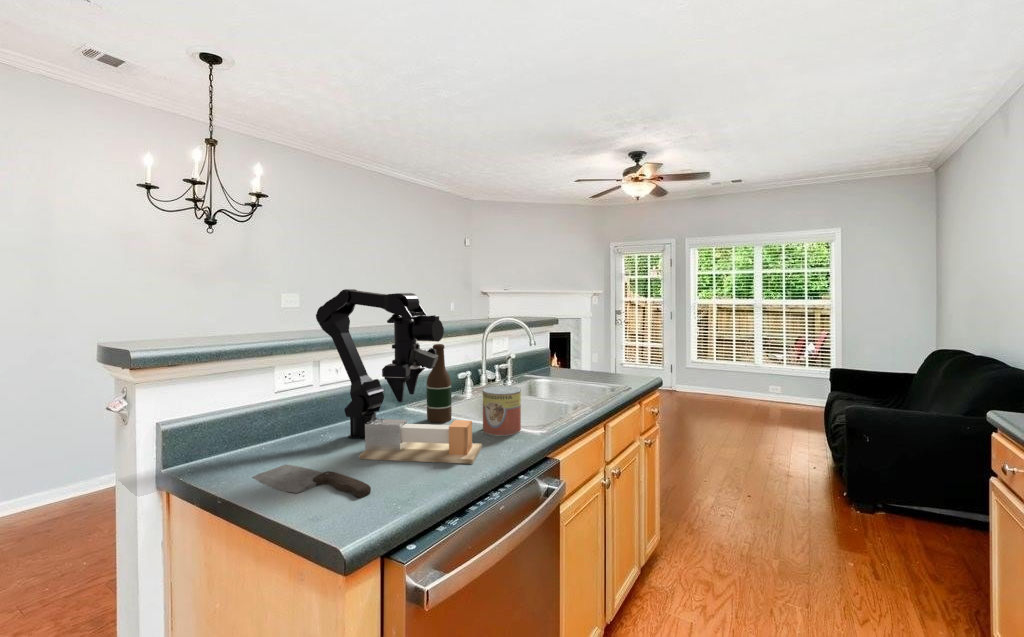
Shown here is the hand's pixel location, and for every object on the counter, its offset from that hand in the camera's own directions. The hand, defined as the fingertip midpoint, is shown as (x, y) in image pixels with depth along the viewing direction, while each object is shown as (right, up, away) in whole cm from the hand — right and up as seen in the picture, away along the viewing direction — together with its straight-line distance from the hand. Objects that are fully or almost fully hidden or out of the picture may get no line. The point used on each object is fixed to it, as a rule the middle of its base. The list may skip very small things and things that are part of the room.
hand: (406, 398), depth 129 cm
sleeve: (-3, -12, -7) cm, 15 cm away
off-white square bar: (+7, -9, -8) cm, 14 cm away
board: (+6, -13, -8) cm, 16 cm away
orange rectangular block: (+16, -12, -9) cm, 22 cm away
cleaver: (-14, -14, -27) cm, 34 cm away
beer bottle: (+5, -11, +23) cm, 26 cm away
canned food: (+25, -12, +12) cm, 30 cm away
